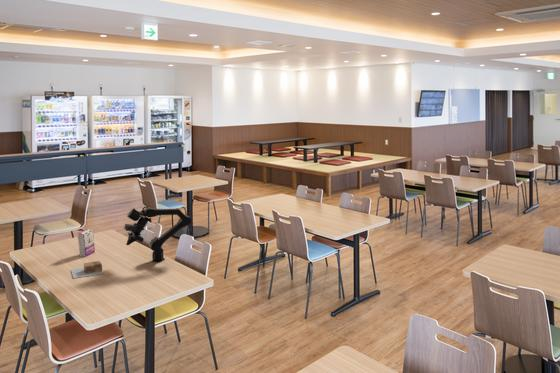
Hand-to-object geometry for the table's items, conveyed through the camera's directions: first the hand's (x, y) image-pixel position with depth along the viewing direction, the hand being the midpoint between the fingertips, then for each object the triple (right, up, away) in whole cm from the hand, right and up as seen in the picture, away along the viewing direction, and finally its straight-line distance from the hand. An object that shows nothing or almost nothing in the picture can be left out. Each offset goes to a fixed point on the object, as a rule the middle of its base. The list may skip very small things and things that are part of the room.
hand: (127, 245), depth 313 cm
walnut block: (-14, -12, -7) cm, 20 cm away
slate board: (-22, -16, -11) cm, 29 cm away
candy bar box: (-35, -10, +24) cm, 44 cm away
